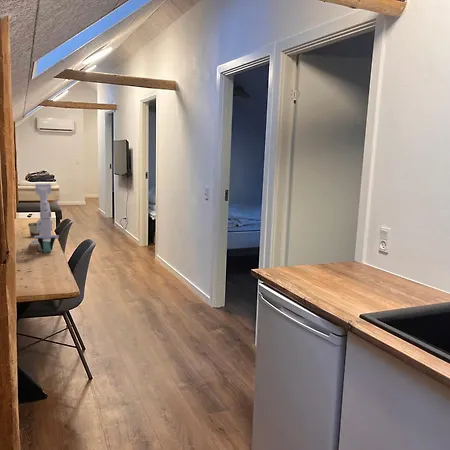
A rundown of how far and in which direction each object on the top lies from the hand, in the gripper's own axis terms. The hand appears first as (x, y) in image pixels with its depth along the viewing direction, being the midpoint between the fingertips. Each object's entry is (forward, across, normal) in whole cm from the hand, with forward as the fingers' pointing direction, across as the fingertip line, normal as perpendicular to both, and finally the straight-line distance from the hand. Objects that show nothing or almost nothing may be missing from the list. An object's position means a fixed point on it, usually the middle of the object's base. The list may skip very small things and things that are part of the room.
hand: (47, 249), depth 292 cm
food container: (+2, -14, +60) cm, 62 cm away
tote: (+2, -4, +10) cm, 11 cm away
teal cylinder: (+2, 0, 0) cm, 2 cm away
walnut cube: (+2, -8, 0) cm, 9 cm away
